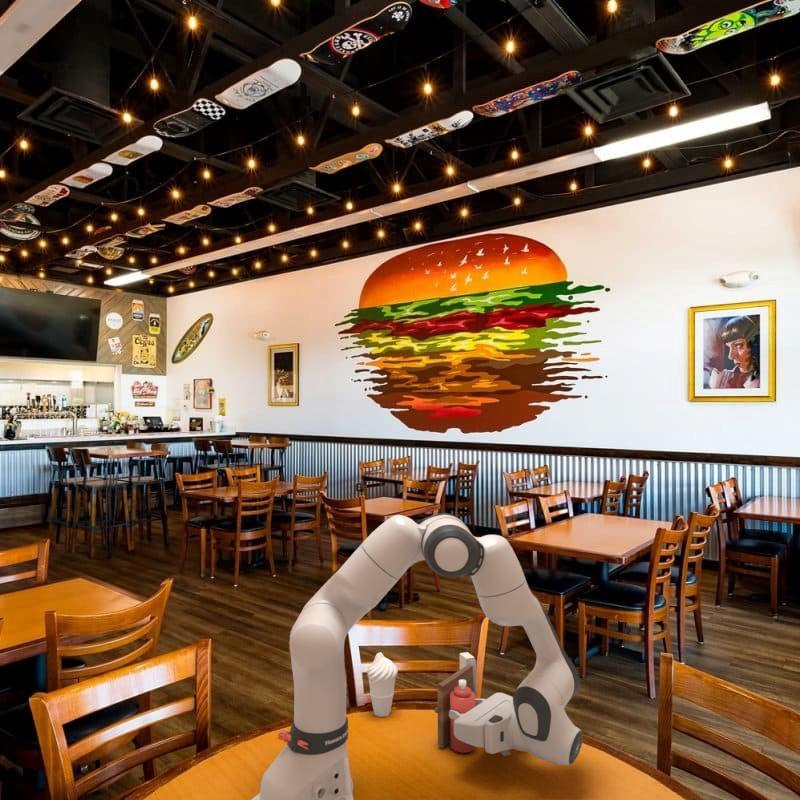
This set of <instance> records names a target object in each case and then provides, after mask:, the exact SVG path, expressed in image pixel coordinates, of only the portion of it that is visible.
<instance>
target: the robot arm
mask: <svg viewBox="0 0 800 800" xmlns="http://www.w3.org/2000/svg"><path fill="white" fill-rule="evenodd" d="M422 561H425V562H426V564H427V565H428V567H429V568H430V569H431V570H432V571H433V572H434V573H436V574H438V575H440V576H442V577H446V578H447V577H448V578H456V577H470V578H471V580H472V583H473V586H474V589H475V592H476V595H477V598H478V602H479V605H480V607H481V609H482V611H483V613H484V615H485V617H486V618H487V619H488V620H489V621H491V622H492V623H493V624H495V625H499V626H501V627H502V626H503V627H518V626H521V627H523V628H524V629H523V630H524V631H525V633H526V634H527V636H528V637H527V638H528V639H529V642H530V643H531V646H532V648H533V650H534V652H535V654H536V660H535V665H534V667H533V669H532V670H531V671H530V673H529V674H528V675H527V676H526V677H525V678H524V679H523V680H522V681H521V682H520V683H519V685H518V687H517V688H516V689H515V691H514V693H513V695H512V696H511V695H509V694H506V693H504V692H495V693H494V694H492V695H491V696H489V697H487V698H476V699H475V707H474V708H472V709H471V710H469V711H468V712H466V713H465V714H460V713H459V710H457V709H454V708H453V709H451V710H450V711H449V717H450V718H451V719H454V720H455V721H454V735H455V737H456V738H457V739H458V740H460V741H462V742H465V743H467V744H470V745H472V746H475V748H481V749H483V748H484V749H485V752H486V753H488V754H491V755H494V754H497V753H499V752H500V751H504V750H508V751H511V750H516V751H518V752H527V753H529V754H530V755H532V756H533V757H534V758H536V759H539V760H542V761H545V762H547V763H550V764H554V765H557V766H558V765H559V766H571V765H572V764H574V762H575V760H576V759H577V758H578V755H579V754H580V752H581V748H582V745H583V738H584V736H583V732H582V730H581V729H580V728H579V727H578V726H576V725H575V724H574V723H573V722H572V720H571V719H570V718H569V716H568V715H567V713H566V712H567V711H566V710H565V708H566V706H567V704H568V703H569V702H570V701H571V700H572V699H573V698H574V697H575V696H576V694H577V693H578V692H579V690H580V686H581V678H580V675H579V672H578V670H577V668H576V666H575V664H574V663H573V662H572V660H571V659H570V657H569V656H568V654H567V653H566V651H565V650H564V647H563V646H562V643H561V641H560V640H559V637H558V634H557V633H556V630H555V628H554V626H553V624H552V621H551V620H550V618H549V616H548V613H547V611H546V609H545V607H544V605H543V603H542V602H541V600H540V599H539V598H538V597H537V596H536V595H535V594H534V593H532V590H531V589H530V587H529V584H528V582H527V580H526V576H525V573H524V570H523V568H522V566H521V564H520V561H519V560H518V556H517V555H516V553H515V551H514V549H513V547H512V546H511V544H510V542H509V541H508V539H507V538H505V537H503V535H502V536H501V535H499V534H486V535H482V536H481V537H480V536H478V537H477V536H474V535H473V533H472V532H471V530H470V529H469V527H468V526H467V525H466V524H465V523H464V522H463V521H462V520H461V519H460V518H459V517H458V516H457V515H454V514H453V513H448V512H440V513H436V514H432V515H430V516H428V517H424V518H422V519H419V520H417V521H416V522H415V521H414V519H412V518H410V517H408V516H405V515H402V514H396V515H392V516H391V517H389V518H387V520H385V521H384V522H383V523H381V524H380V525H379V526H378V527H377V528H375V530H373V531H372V532H371V533H370V534H369V536H367V537H366V538H365V539H364V540H363V542H362V543H360V545H359V546H358V547H357V548H356V549H355V550H354V552H353V553H352V554H351V555H350V556H349V557H348V559H347V560H346V561H344V563H343V564H342V565H341V567H340V568H339V569H338V570H337V571H336V572H335V573H334V574H333V575H332V576H331V577H330V578H329V579H328V580H327V581H326V582H325V583H324V584H323V586H321V587H320V589H319V590H318V591H317V592H316V593H315V594H314V595H313V596H312V597H311V598H310V599H309V600H308V602H306V604H305V605H304V607H303V608H302V610H301V612H300V613H299V616H298V617H297V619H296V621H295V622H294V624H293V625H292V628H291V630H290V633H289V634H290V635H289V653H290V658H291V659H290V661H291V670H292V671H291V672H292V677H293V686H294V687H293V691H294V693H293V694H294V695H293V696H294V697H293V699H294V700H293V701H294V702H293V704H294V705H293V706H294V708H293V712H294V713H293V715H294V717H293V720H292V722H291V723H292V724H291V726H290V729H289V731H287V730H286V729H285V728H282V729H280V730H279V732H278V734H277V739H278V740H280V741H282V742H283V743H286V744H285V746H284V747H283V749H282V750H281V751H280V753H279V754H278V755H277V756H276V758H275V759H274V760H273V761H272V763H271V764H270V766H269V767H268V768H267V769H266V771H265V772H264V773H263V775H262V778H261V783H260V789H259V793H258V794H256V795H255V796H254V797H253V798H251V799H250V800H355V799H354V794H353V791H354V781H353V778H352V775H351V770H350V769H351V768H350V763H349V762H350V759H349V753H348V746H347V745H348V743H347V740H348V738H349V731H350V730H349V718H348V717H347V679H346V670H345V641H346V637H347V635H348V633H349V632H350V631H351V629H352V628H353V627H354V626H355V625H356V624H357V623H358V622H359V621H360V620H361V619H362V618H363V617H364V616H365V615H367V613H369V612H370V611H371V610H372V609H374V608H375V607H376V606H377V605H378V604H379V603H380V602H381V601H382V599H383V598H384V597H385V596H386V595H387V594H388V592H389V591H390V590H391V589H392V588H393V587H394V586H395V585H396V584H397V582H398V581H399V580H400V579H401V578H402V576H403V575H404V574H405V573H406V572H407V571H408V569H409V568H410V567H412V566H413V565H415V563H418V562H422Z"/></svg>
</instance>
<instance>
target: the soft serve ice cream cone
mask: <svg viewBox="0 0 800 800" xmlns="http://www.w3.org/2000/svg"><path fill="white" fill-rule="evenodd" d="M398 672H399V671H398V667H397V666H396V664H394V662H393V661H392V660H391V659H389V658H387V657H386V656H384V654H383V652H377V653H376V655H375V657H374V660H373V661H372V662H371V664H370V665H368V667H367V670H366V673H367V678H368V683H369V696H370V698H371V705H372V709H373V714H374V715H375V716H376V717H379V718H385V717H388V716H390V714H391V710H392V709H391V708H392V703H393V700H394V695H395V683H396V677H397V676H398Z"/></svg>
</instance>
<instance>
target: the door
mask: <svg viewBox="0 0 800 800" xmlns="http://www.w3.org/2000/svg"><path fill="white" fill-rule="evenodd" d="M461 679H464V680H466V686H467V687H469V688H470V689H471V691H472V692H473V666H472V665H467V666H465V667H463V668H462V669H460V668H459V669H458V671H456V672H454V673H453V674H451V675H450V676H449V677H447V678H445V679H444V680H442V681H441V682H439V683H438V684H437V706H436V707H434V713H436V714H437V747H440V748H445V747H446V746H447V745H448V744H450V717H449V711H450V693H451V692H452V691H453V690H454V688H455V687H457V686H459V680H461Z"/></svg>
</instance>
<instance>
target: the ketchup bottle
mask: <svg viewBox="0 0 800 800" xmlns="http://www.w3.org/2000/svg"><path fill="white" fill-rule="evenodd" d="M474 707H475V694H474V692H472V691H471V689H470V688H469V687H467V686H466V680H464V679H461V680H459V686H457V687H455V688H454V690H453V691H452V692H451V693H450V710H451V709H453V708H454V709H457V710H459V713H460V714H465V713H466V712H468V711H469V710H471V709H472V708H474ZM454 721H455V720H454V719H451V718H450V742H449V747H450V748H451V749H452V750H453V751H455V752H458V753H468V752H473V751H474V750H475V749H476V747H475V746H472V745H470V744H467V743H465V742H462V741H460V740H458V739H457V738H456V737H455V735H454Z"/></svg>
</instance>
